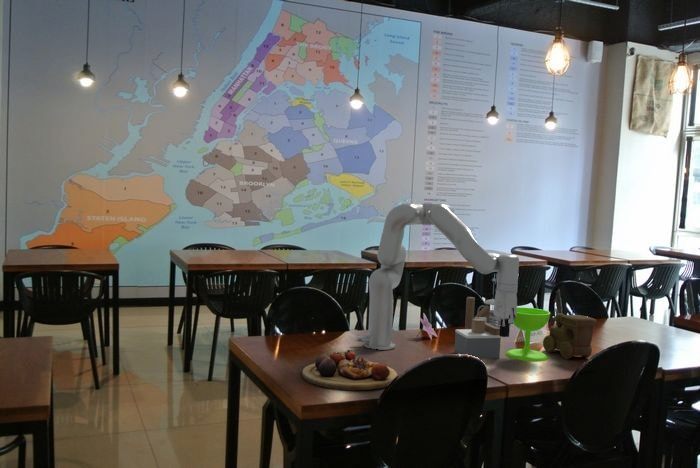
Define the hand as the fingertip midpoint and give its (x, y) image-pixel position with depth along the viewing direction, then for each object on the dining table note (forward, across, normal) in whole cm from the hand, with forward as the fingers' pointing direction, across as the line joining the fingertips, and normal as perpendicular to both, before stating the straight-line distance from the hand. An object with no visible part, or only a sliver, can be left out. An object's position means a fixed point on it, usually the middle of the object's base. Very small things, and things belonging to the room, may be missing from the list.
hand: (504, 336), depth 237 cm
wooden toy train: (+10, -9, +33) cm, 36 cm away
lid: (+3, -12, -5) cm, 13 cm away
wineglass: (+10, -9, +15) cm, 20 cm away
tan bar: (+1, -13, 0) cm, 14 cm away
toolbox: (+10, -14, -5) cm, 18 cm away
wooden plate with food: (+11, +12, -62) cm, 64 cm away
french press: (+10, -52, +20) cm, 57 cm away
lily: (+10, -43, -14) cm, 46 cm away
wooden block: (+10, -41, +8) cm, 43 cm away
